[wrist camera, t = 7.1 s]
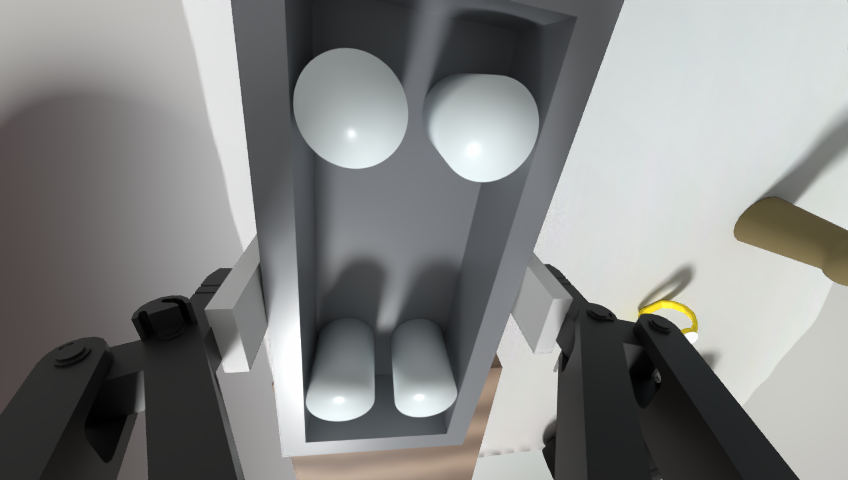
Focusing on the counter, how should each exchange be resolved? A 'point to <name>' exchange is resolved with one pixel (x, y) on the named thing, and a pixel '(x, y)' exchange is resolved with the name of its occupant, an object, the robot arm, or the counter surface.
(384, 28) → the tray
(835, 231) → the cork
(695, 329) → the watch
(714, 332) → the counter surface
